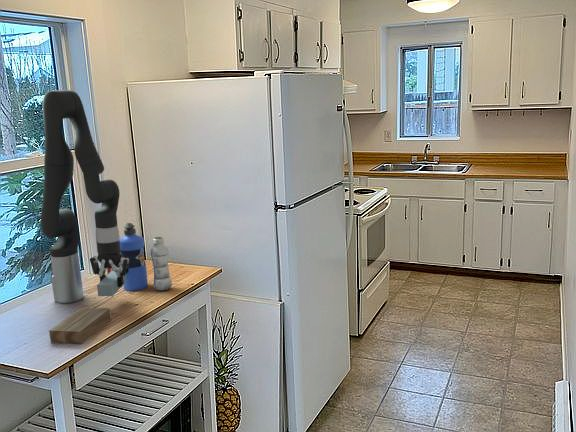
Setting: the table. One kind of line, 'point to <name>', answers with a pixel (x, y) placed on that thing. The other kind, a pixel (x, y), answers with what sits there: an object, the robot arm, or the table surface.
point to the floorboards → (80, 325)
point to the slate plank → (109, 285)
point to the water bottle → (134, 259)
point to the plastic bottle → (160, 264)
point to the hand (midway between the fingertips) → (112, 285)
